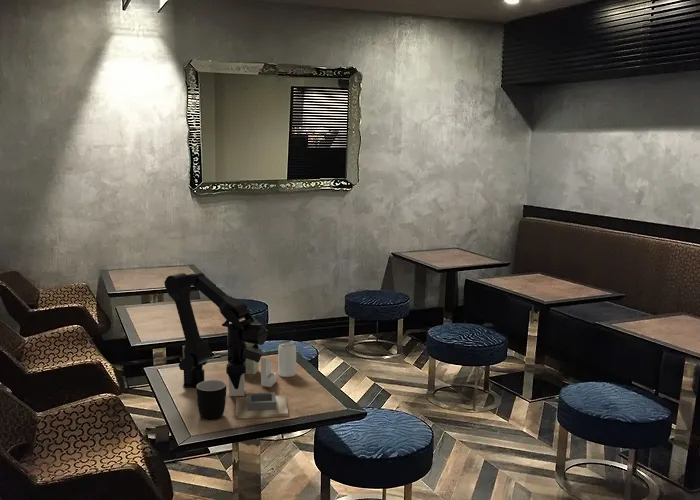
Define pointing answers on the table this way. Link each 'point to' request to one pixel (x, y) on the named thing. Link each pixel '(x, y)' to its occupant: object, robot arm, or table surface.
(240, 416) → the board
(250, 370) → the skincare box
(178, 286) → the robot arm
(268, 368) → the white angled block
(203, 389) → the mug
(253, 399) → the back box
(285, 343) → the can
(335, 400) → the table surface
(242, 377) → the grey block
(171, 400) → the table surface
